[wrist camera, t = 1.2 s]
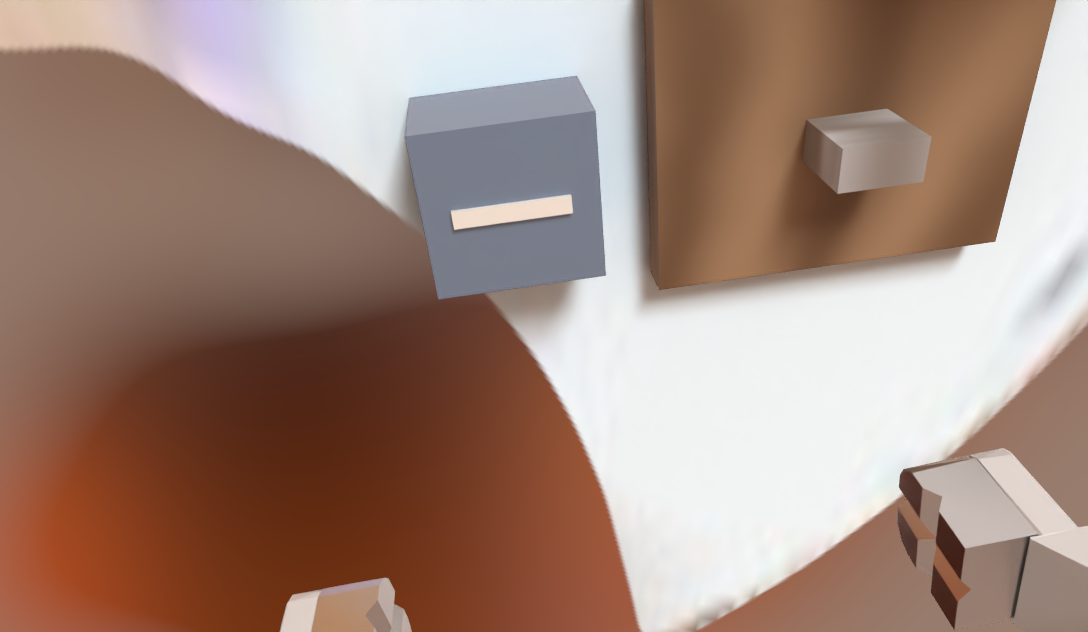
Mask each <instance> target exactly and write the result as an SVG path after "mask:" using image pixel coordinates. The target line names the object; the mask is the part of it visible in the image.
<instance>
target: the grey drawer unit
mask: <svg viewBox="0 0 1088 632" xmlns="http://www.w3.org/2000/svg"><path fill="white" fill-rule="evenodd" d="M405 140H406V145H407V150H408V155H409V160H410V164H411V169H412V174H413V179H414V184H415V189H416V194H417V198H418V203H419V208H420V213H421V218H422V223H423V227H424V232H425V237H426V242H427V247H428V252H429V256H430V261H431V266H432V271H433V276H434V280H435V285H436V290H437V295H438V299H445V298H452V297H459V296H466V295H473V294H479V293H487V292H494V291H501V290H508V289H515V288H522V287H529V286H536V285H543V284H550V283H557V282H564V281H571V280H578V279H585V278H592V277H599V276H606V271H605V255H604V239H603V224H602V208H601V192H600V176H599V160H598V144H597V129H596V113H595V109H594V107H593V105H592V104H591V102H590V100H589V98H588V96H587V94H586V92H585V90H584V89H583V87H582V85H581V83H580V81H579V79H578V77H577V76H572V77H565V78H557V79H550V80H542V81H534V82H527V83H519V84H512V85H504V86H497V87H489V88H481V89H474V90H466V91H459V92H451V93H444V94H436V95H429V96H421V97H413V98H409V106H408V114H407V122H406V130H405Z"/></svg>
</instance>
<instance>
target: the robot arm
mask: <svg viewBox="0 0 1088 632" xmlns="http://www.w3.org/2000/svg"><path fill="white" fill-rule="evenodd" d="M899 488H900V490H901V491H902V493H903V494H904V496H905V497H906V499H905V500H904V501H903V502H902V503H901V505H900V506H899V507H898V527H899V531H900V535H901V539H902V542H903V544H904V546H905V549H906V551H907V553H908V555H909V557H910V559H911V560H912V562H913V564H914V565H915V567H916V568H917V569H919V570H921V571H922V572H924V573H926V574H928V575H929V576H931V577H932V585H931V593H932V595H933V597H934V598H935V600H936V601H937V603H938V605H939V606H940V608H941V609H942V611H943V613H944V614H945V616H946V618H947V619H948V621H949V622H950V624H951V626H952V627H953V629H954V630H959V629H964V628H970V627H976V626H982V625H988V624H994V623H1000V622H1006V621H1012V620H1014V621H1013V624H1015V625H1016V626H1018V627H1019V628H1021V629H1022V630H1023V631H1025V632H1088V526H1084V527H1077V526H1076V525H1075V523H1073V521H1072V520H1071V519H1070V518H1069V517H1068V516H1067V514H1066V513H1065V512H1064V511H1063V510H1062V509H1061V508H1060V507H1059V506H1058V504H1057V503H1056V502H1055V501H1054V500H1053V499H1052V498H1051V497H1050V496H1049V494H1048V493H1047V492H1046V491H1045V490H1044V489H1043V488H1042V487H1041V485H1040V484H1039V483H1038V482H1037V481H1036V480H1035V479H1034V478H1033V477H1032V475H1031V474H1030V473H1029V472H1028V471H1027V470H1026V469H1025V468H1024V466H1023V465H1022V464H1021V463H1020V462H1019V461H1018V460H1017V459H1016V458H1015V456H1014V455H1013V454H1012V453H1011V452H1009V451H1007V450H1006V449H1004V448H1002V449H997V450H992V451H987V452H983V453H978V454H973V455H970V456H962V457H957V458H952V459H948V460H943V461H939V462H934V463H930V464H925V465H921V466H916V467H911V468H907V469H903V471H902V473H901V475H900V482H899ZM394 596H395V590H394V589H393V587H392V585H391V583H390V581H389V579H388V578H381V579H375V580H370V581H364V582H359V583H353V584H348V585H342V586H336V587H331V588H325V589H321V590H316V591H311V592H306V593H300V594H295V595H292V597H291V599H290V600H289V602H288V603H287V605H286V609H285V613H284V617H283V621H282V625H281V629H280V632H412V631H411V628H410V624H409V620H408V617H407V615H406V613H405V611H404V609H403V608H400V607H399V606H397V605H395V604H394Z"/></svg>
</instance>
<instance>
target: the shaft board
mask: <svg viewBox="0 0 1088 632" xmlns="http://www.w3.org/2000/svg"><path fill="white" fill-rule="evenodd" d="M1055 3H1056V0H644V23H645V62H646V101H647V139H648V178H649V217H650V256H651V273H652V275H653V277H654V279H655V282H656V284H657V286H658V288H659V290H662V289H669V288H676V287H683V286H690V285H697V284H704V283H711V282H718V281H724V280H731V279H738V278H745V277H752V276H759V275H766V274H773V273H780V272H787V271H794V270H801V269H808V268H815V267H822V266H829V265H836V264H843V263H850V262H857V261H863V260H870V259H877V258H884V257H891V256H898V255H905V254H912V253H919V252H926V251H933V250H940V249H947V248H954V247H961V246H968V245H975V244H982V243H989V242H995V241H996V237H997V233H998V229H999V225H1000V221H1001V217H1002V213H1003V209H1004V205H1005V201H1006V197H1007V193H1008V189H1009V185H1010V181H1011V177H1012V173H1013V169H1014V165H1015V161H1016V157H1017V153H1018V150H1019V146H1020V142H1021V138H1022V134H1023V130H1024V126H1025V122H1026V118H1027V114H1028V110H1029V106H1030V102H1031V98H1032V94H1033V90H1034V86H1035V82H1036V78H1037V74H1038V70H1039V66H1040V62H1041V58H1042V54H1043V50H1044V46H1045V43H1046V39H1047V35H1048V31H1049V27H1050V23H1051V19H1052V15H1053V11H1054V7H1055Z"/></svg>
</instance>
